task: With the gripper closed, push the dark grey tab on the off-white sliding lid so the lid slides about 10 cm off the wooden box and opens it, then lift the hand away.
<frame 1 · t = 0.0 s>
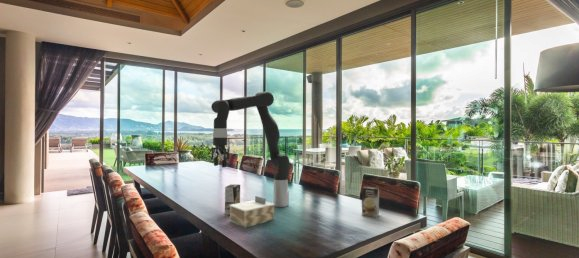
hand: (219, 166, 161), 29 cm above the table, tool pointing down, fingers open, 8 cm apart
lid: (252, 202, 161), point 10 cm above the table, slide at 0.0 cm
coffee box 2: (370, 215, 173), on the table
coffee box: (232, 213, 175), on the table
wooden box: (252, 220, 161), on the table
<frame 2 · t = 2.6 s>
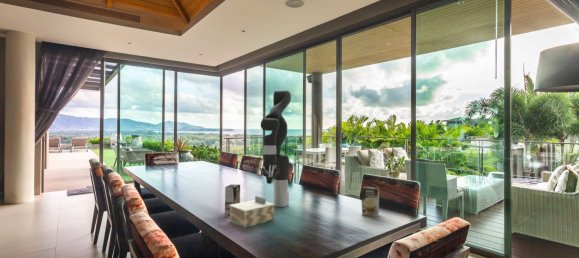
hand: (269, 183, 169), 19 cm above the table, tool pointing down, fingers closed
nothing on the table moved.
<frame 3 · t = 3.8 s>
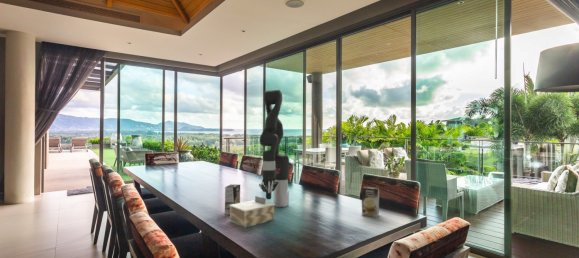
hand: (268, 199, 169), 10 cm above the table, tool pointing down, fingers closed
nothing on the table moved.
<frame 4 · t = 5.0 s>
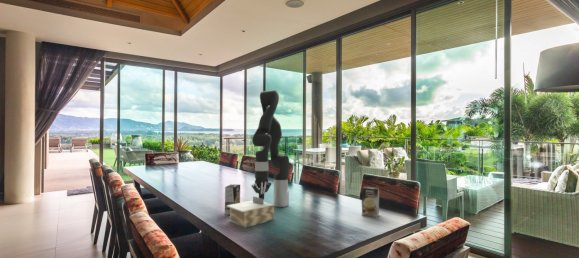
hand: (261, 200, 165), 10 cm above the table, tool pointing down, fingers closed
lid: (250, 202, 160), point 10 cm above the table, slide at 1.5 cm, touching gripper
everything else where it was.
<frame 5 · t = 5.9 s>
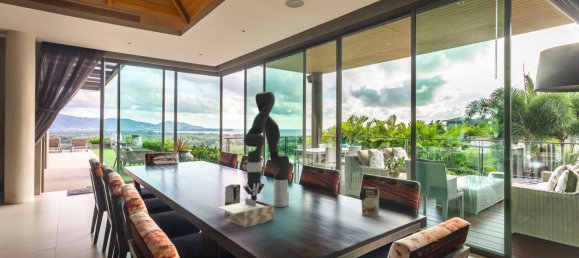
hand: (253, 202, 161), 10 cm above the table, tool pointing down, fingers closed
lid: (241, 204, 156), point 10 cm above the table, slide at 6.8 cm, touching gripper
everything else where it was.
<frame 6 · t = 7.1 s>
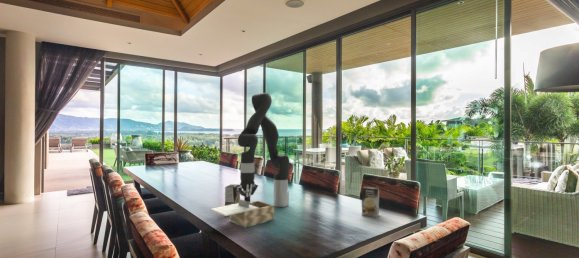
hand: (247, 203, 158), 10 cm above the table, tool pointing down, fingers closed
lid: (234, 205, 153), point 10 cm above the table, slide at 11.2 cm, touching gripper
everything else where it was.
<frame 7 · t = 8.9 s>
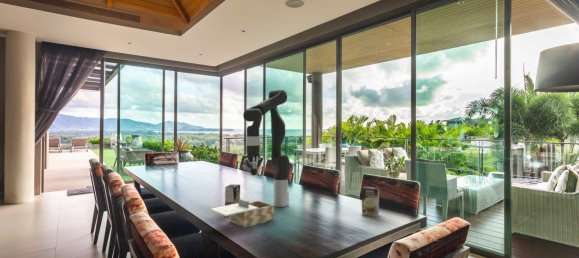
hand: (253, 175, 166), 24 cm above the table, tool pointing down, fingers closed
lid: (234, 205, 153), point 10 cm above the table, slide at 11.3 cm
everything else where it was.
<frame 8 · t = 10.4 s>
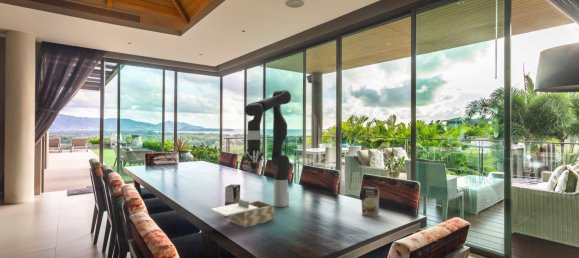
hand: (253, 169, 167), 27 cm above the table, tool pointing down, fingers closed
nothing on the table moved.
at the end: lid slide at 11.3 cm; coffee box moved 0.2 cm from its start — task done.
